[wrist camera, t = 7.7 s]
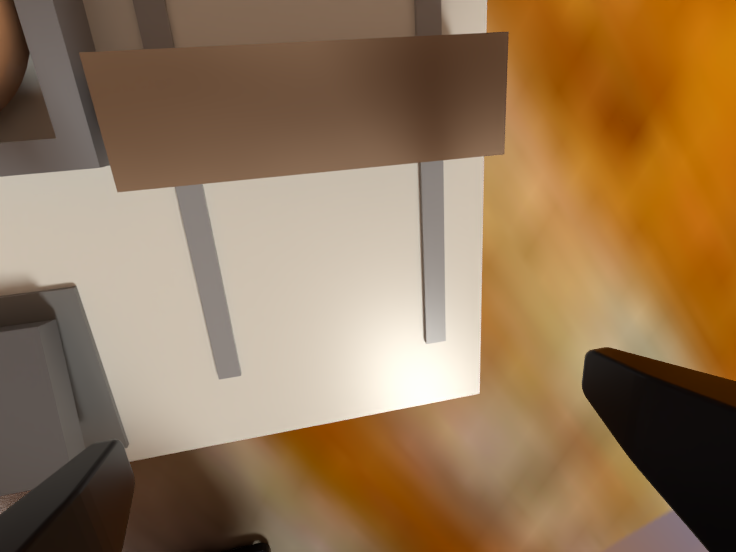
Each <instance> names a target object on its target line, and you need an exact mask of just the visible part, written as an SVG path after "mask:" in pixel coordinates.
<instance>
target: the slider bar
mask: <svg viewBox="0 0 736 552" xmlns="http://www.w3.org/2000/svg"><path fill="white" fill-rule="evenodd" d="M79 55H80V58H81V62H82V65H83V69H84V73H85V76H86V80H87V84H88V87H89V91H90V95H91V98H92V102H93V105H94V109H95V113H96V116H97V120H98V124H99V127H100V131H101V135H102V138H103V142H104V145H105V149H106V153H107V156H108V160H109V164H110V167H111V171H112V175H113V178H114V182H115V185H116V189H117V192H127V191H137V190H147V189H157V188H167V187H177V186H188V185H198V184H208V183H218V182H228V181H238V180H248V179H259V178H269V177H279V176H289V175H299V174H309V173H319V172H330V171H340V170H350V169H360V168H370V167H380V166H391V165H401V164H411V163H421V162H431V161H441V160H451V159H462V158H472V157H482V156H492V155H502V154H504V146H505V117H506V88H507V60H508V32H493V33H472V34H452V35H431V36H410V37H390V38H369V39H348V40H327V41H307V42H286V43H265V44H244V45H224V46H203V47H182V48H162V49H141V50H120V51H99V52H79Z"/></svg>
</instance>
